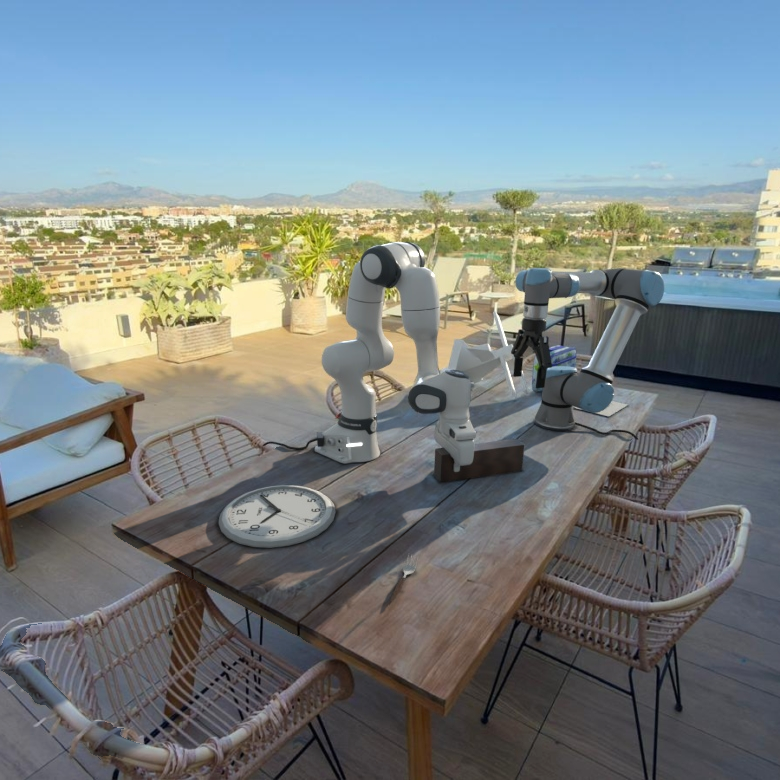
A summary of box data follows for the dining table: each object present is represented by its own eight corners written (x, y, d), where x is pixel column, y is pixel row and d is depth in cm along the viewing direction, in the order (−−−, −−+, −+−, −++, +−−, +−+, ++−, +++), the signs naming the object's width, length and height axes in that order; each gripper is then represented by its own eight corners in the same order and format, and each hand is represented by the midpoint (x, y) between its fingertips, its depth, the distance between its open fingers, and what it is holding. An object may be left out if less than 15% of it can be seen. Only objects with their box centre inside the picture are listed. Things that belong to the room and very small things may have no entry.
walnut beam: (513, 464, 170) (516, 438, 167) (521, 471, 165) (524, 444, 162) (433, 475, 161) (435, 448, 158) (440, 482, 157) (441, 455, 154)
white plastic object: (461, 429, 252) (437, 405, 227) (444, 352, 274) (420, 323, 250) (535, 404, 240) (518, 377, 215) (510, 326, 262) (492, 293, 237)
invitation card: (608, 416, 214) (573, 407, 224) (608, 416, 214) (573, 408, 224) (628, 404, 229) (594, 396, 238) (628, 405, 229) (594, 397, 238)
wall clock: (334, 539, 124) (204, 543, 122) (334, 545, 125) (205, 549, 122) (336, 480, 153) (231, 483, 150) (336, 485, 153) (231, 488, 151)
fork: (383, 605, 105) (383, 597, 105) (407, 560, 120) (408, 552, 119) (395, 608, 104) (395, 600, 104) (418, 562, 119) (419, 555, 118)
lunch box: (548, 398, 236) (553, 353, 229) (527, 393, 243) (531, 349, 237) (575, 387, 253) (581, 344, 247) (555, 382, 260) (560, 341, 254)
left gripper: (430, 413, 163) (428, 453, 168) (458, 437, 145) (456, 482, 149) (449, 411, 165) (446, 451, 169) (479, 435, 147) (476, 479, 151)
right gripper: (504, 312, 177) (499, 372, 183) (547, 325, 154) (539, 393, 161) (523, 311, 179) (518, 371, 185) (568, 324, 156) (560, 391, 163)
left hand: (451, 466), depth 159 cm, fingers closed on walnut beam, 5 cm apart
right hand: (528, 381), depth 173 cm, fingers open, 13 cm apart
